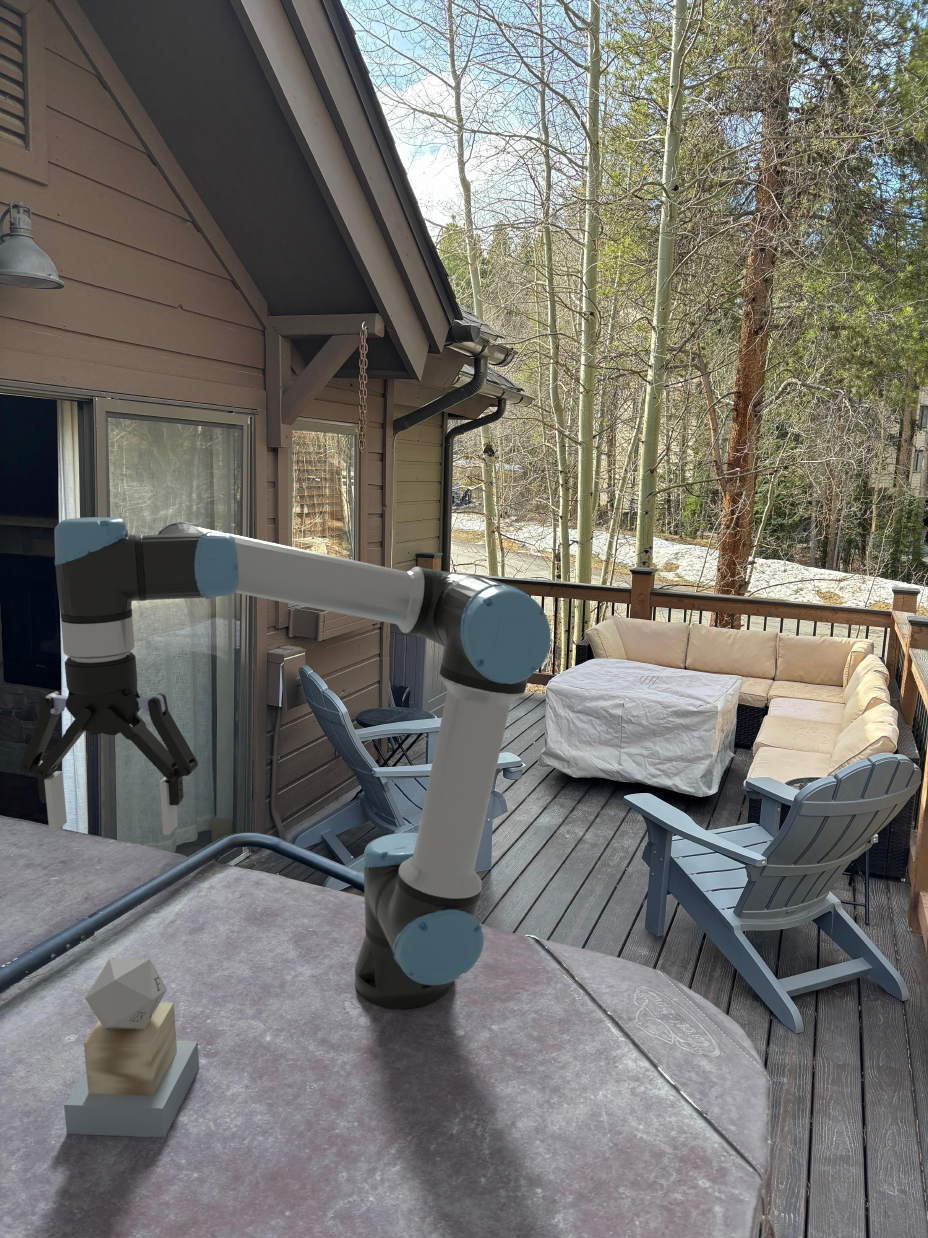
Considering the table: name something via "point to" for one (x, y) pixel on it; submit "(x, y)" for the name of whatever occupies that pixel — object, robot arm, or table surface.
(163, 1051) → the maple block
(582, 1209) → the table surface
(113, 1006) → the die
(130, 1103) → the plinth
